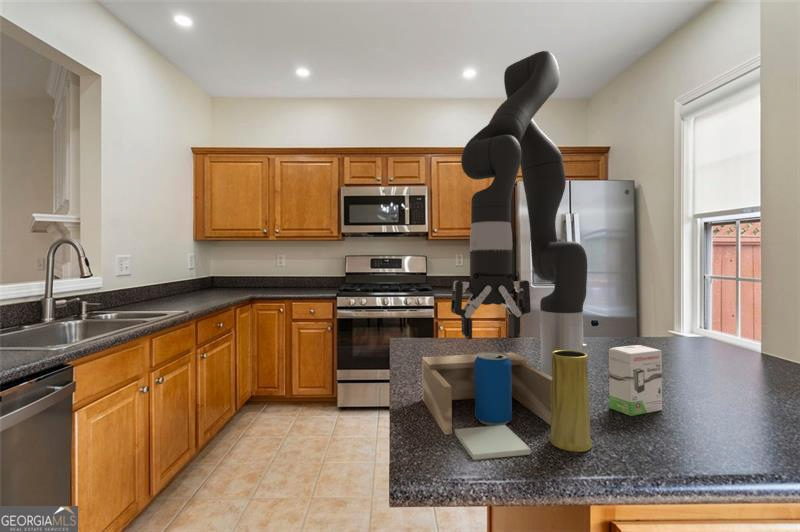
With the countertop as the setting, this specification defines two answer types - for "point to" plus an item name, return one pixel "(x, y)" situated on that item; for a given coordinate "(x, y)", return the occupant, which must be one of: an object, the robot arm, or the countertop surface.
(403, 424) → the countertop surface
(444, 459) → the countertop surface
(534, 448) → the countertop surface
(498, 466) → the countertop surface
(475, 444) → the tile
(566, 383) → the vase
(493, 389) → the beverage can
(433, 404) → the cubby
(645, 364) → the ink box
